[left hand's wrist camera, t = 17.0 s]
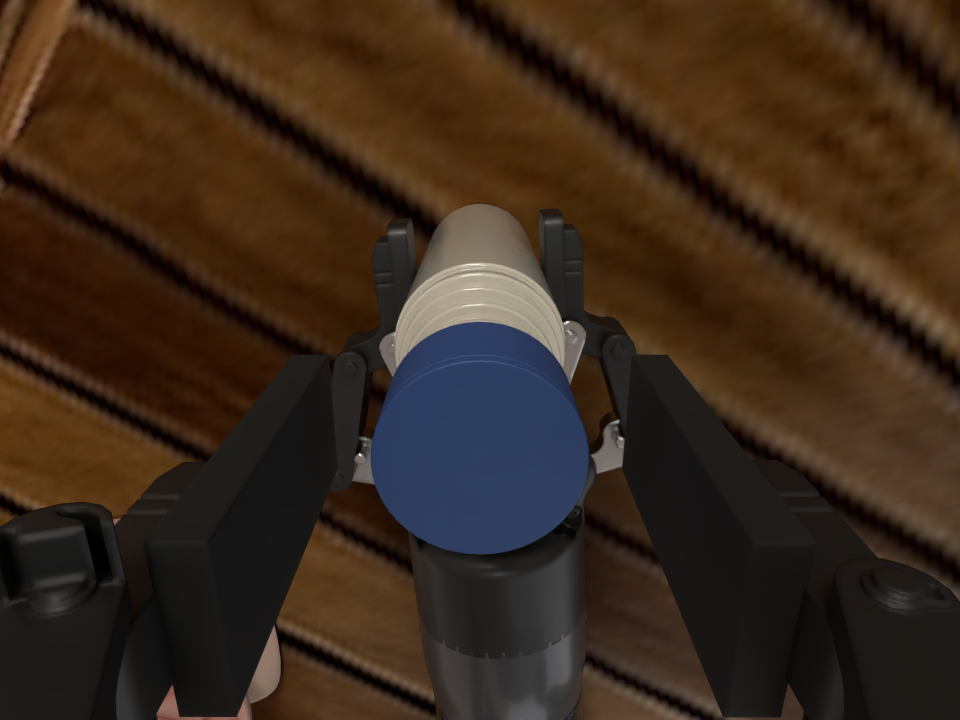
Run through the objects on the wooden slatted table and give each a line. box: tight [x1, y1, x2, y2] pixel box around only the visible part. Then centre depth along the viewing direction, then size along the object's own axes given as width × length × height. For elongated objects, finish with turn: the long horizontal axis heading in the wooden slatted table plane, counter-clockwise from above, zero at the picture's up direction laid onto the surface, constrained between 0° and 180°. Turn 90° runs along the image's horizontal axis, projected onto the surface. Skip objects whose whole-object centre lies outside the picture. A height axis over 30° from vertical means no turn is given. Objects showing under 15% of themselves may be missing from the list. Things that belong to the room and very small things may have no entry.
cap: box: [371, 322, 589, 555], centre depth 13 cm, size 4×4×2 cm
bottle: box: [394, 204, 566, 369], centre depth 22 cm, size 5×5×19 cm
